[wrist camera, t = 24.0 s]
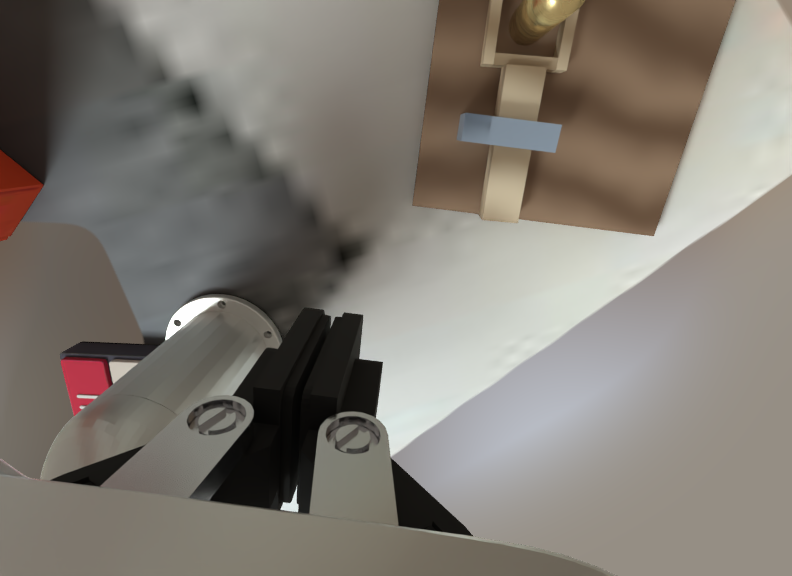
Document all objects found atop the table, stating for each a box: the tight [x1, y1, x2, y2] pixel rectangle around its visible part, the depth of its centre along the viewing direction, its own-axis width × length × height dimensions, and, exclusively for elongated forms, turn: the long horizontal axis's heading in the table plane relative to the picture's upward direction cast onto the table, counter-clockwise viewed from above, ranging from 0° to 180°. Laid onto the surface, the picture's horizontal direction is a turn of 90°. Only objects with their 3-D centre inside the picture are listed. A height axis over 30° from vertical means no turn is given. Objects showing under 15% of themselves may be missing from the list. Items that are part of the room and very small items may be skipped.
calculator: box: [60, 341, 158, 416], centre depth 47 cm, size 11×4×15 cm
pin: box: [509, 0, 585, 46], centre depth 28 cm, size 3×3×9 cm
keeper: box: [457, 113, 562, 153], centre depth 33 cm, size 2×7×4 cm, turn 83°
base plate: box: [412, 0, 736, 236], centre depth 35 cm, size 19×22×2 cm
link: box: [479, 0, 579, 223], centre depth 33 cm, size 18×6×2 cm, turn 175°
